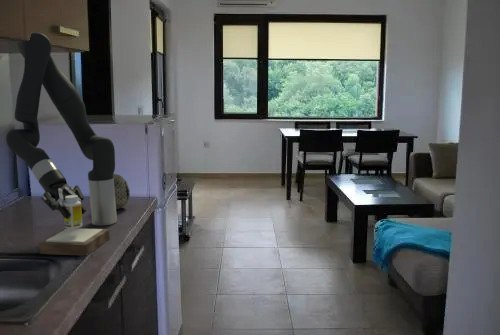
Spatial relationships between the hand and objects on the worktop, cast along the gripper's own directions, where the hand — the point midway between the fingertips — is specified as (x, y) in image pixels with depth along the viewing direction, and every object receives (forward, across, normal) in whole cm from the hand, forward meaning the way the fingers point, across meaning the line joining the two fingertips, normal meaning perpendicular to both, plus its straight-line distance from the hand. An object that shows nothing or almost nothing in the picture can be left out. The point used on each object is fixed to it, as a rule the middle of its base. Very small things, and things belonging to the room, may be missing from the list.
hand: (76, 214), depth 158 cm
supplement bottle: (+2, 0, +4) cm, 5 cm away
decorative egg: (-9, +42, +25) cm, 50 cm away
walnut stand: (+7, 0, +9) cm, 11 cm away
